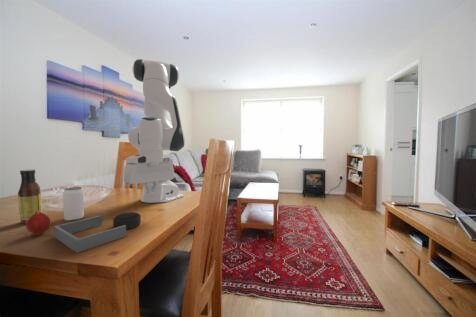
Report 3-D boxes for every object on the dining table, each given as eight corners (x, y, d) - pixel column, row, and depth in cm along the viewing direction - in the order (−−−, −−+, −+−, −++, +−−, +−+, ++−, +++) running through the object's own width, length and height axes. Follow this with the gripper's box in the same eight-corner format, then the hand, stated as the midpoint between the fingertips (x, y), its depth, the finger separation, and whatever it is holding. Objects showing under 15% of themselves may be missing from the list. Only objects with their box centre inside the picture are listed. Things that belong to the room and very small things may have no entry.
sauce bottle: (32, 218, 87) (30, 168, 86) (47, 219, 86) (45, 168, 85) (14, 224, 80) (11, 170, 79) (29, 225, 80) (27, 170, 79)
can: (73, 221, 84) (72, 190, 83) (59, 220, 85) (58, 189, 85) (88, 216, 90) (87, 187, 90) (74, 215, 92) (73, 186, 91)
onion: (30, 233, 73) (29, 209, 72) (52, 230, 75) (51, 207, 75) (24, 240, 67) (22, 214, 67) (48, 236, 70) (47, 211, 70)
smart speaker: (141, 221, 86) (141, 210, 86) (139, 229, 77) (139, 218, 77) (116, 223, 83) (116, 212, 83) (110, 232, 75) (110, 220, 74)
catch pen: (100, 224, 81) (100, 215, 81) (126, 236, 71) (126, 225, 71) (54, 237, 70) (53, 226, 70) (76, 252, 60) (76, 240, 60)
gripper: (167, 157, 97) (167, 188, 97) (121, 158, 80) (121, 196, 80) (177, 157, 93) (177, 190, 94) (130, 158, 77) (131, 198, 77)
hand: (151, 193), depth 87 cm, fingers closed
